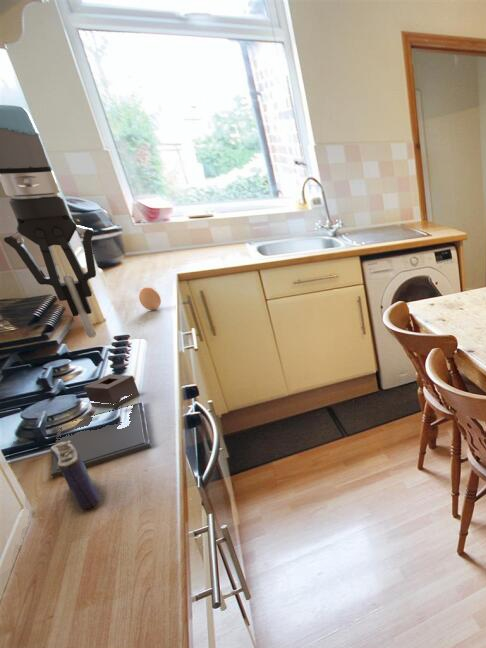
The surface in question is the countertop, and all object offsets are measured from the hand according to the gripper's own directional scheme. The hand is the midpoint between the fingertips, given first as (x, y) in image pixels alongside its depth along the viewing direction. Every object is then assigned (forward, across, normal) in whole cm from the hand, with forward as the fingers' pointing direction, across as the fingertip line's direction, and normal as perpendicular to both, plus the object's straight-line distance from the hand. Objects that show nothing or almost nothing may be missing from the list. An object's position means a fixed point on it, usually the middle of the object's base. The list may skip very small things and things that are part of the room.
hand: (82, 313), depth 97 cm
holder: (+21, 0, 0) cm, 21 cm away
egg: (+21, +11, +71) cm, 75 cm away
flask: (+21, -5, -36) cm, 43 cm away
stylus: (+6, 0, +1) cm, 6 cm away
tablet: (+21, -2, -17) cm, 27 cm away
